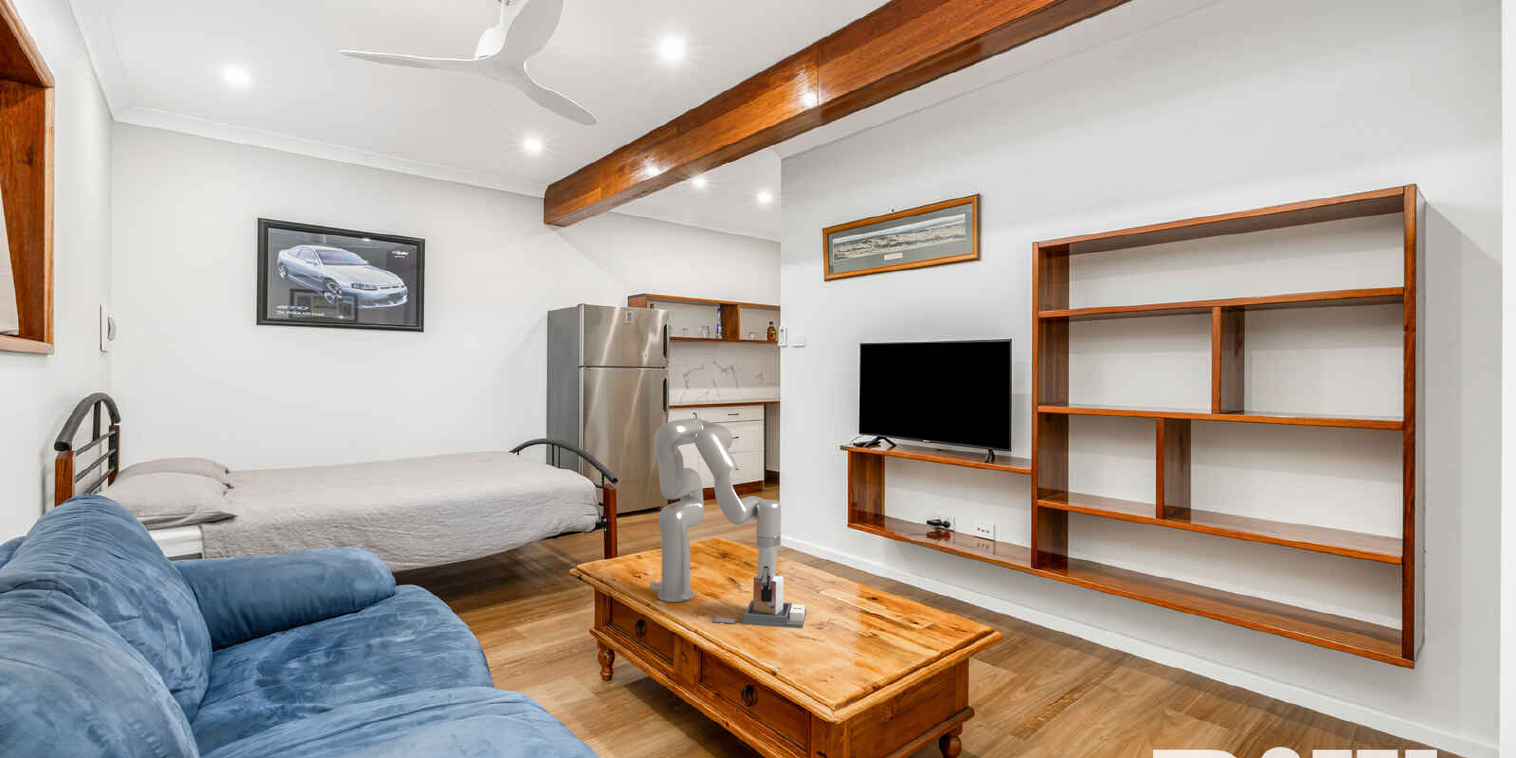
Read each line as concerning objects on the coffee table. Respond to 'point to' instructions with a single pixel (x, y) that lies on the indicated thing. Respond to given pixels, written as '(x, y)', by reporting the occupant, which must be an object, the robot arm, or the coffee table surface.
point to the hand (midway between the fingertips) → (768, 596)
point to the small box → (777, 596)
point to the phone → (724, 621)
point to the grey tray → (777, 616)
